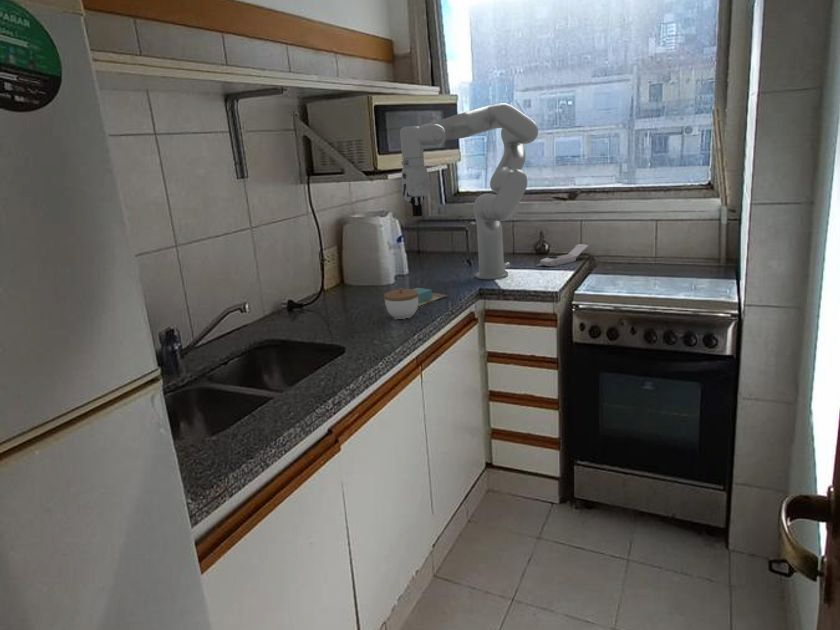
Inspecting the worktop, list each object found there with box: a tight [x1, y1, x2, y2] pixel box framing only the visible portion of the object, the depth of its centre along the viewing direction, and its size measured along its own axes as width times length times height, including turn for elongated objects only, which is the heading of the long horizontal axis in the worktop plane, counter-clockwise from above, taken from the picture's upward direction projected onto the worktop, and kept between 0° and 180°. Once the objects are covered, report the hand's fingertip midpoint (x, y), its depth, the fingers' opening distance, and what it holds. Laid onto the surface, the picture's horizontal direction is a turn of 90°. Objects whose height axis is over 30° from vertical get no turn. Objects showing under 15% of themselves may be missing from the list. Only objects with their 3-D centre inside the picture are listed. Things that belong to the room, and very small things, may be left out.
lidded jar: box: [383, 287, 419, 320], centre depth 191 cm, size 11×11×9 cm
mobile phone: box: [536, 243, 589, 267], centre depth 251 cm, size 6×6×25 cm
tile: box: [412, 287, 433, 303], centre depth 208 cm, size 3×7×9 cm
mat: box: [418, 292, 448, 307], centre depth 210 cm, size 16×11×1 cm
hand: (417, 215), depth 218 cm, fingers closed
